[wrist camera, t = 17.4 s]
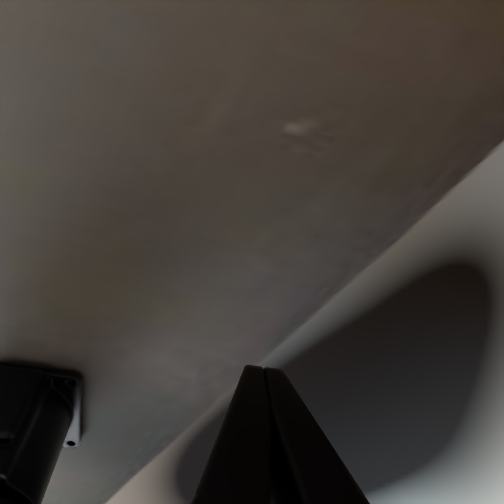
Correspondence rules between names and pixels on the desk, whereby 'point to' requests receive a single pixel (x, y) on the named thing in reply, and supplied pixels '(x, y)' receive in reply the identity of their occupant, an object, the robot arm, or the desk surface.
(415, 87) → the desk surface
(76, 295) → the desk surface
